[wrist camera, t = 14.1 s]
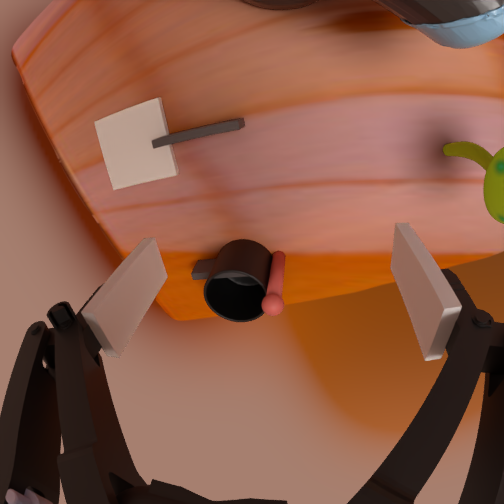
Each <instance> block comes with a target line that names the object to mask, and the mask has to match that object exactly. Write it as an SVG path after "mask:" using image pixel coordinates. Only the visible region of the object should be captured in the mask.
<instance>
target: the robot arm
mask: <svg viewBox="0 0 504 504" xmlns="http://www.w3.org/2000/svg"><path fill="white" fill-rule="evenodd" d="M243 1H245V2H247V3H250V4H252V5H255V6H258V7H262V8H267V9H277V10H285V9H295V8H300V7H304V6H307V5H310V4H312V3H315V2H317V1H318V0H243ZM373 1H374V2H376V3H378V4H379V5H381V6H383V7H384V8H386V9H387V10H389V11H391V12H392V13H394V14H395V15H397V16H398V17H400V20H401V21H403V22H404V23H405V24H407V25H409V26H411V27H415V28H416V29H418V30H419V31H420V32H422V33H423V34H425V35H426V36H427V37H429V38H430V39H432V40H433V41H434V42H436V43H438V44H440V45H442V46H447V47H451V48H455V49H462V48H470V47H475V46H479V45H481V44H484V43H487V42H489V41H491V40H493V39H495V38H497V37H499V36H500V35H502V34H503V33H504V0H373ZM391 271H392V273H393V275H394V278H395V280H396V283H397V285H398V287H399V290H400V292H401V295H402V298H403V300H404V303H405V305H406V308H407V310H408V313H409V316H410V319H411V321H412V324H413V327H414V330H415V333H416V336H417V338H418V341H419V344H420V347H421V351H422V354H423V357H424V360H425V361H428V360H433V359H440V358H441V357H442V355H443V353H444V351H445V348H446V351H447V353H448V358H447V360H446V362H445V364H444V366H443V368H442V370H441V372H440V374H439V376H438V378H437V380H436V382H435V384H434V385H433V387H432V389H431V391H430V393H429V394H428V396H427V398H426V400H425V401H424V403H423V405H422V406H421V408H420V410H419V411H418V413H417V415H416V416H415V418H414V419H413V421H412V422H411V424H410V425H409V427H408V428H407V430H406V431H405V433H404V434H403V436H402V437H401V439H400V440H399V442H398V443H397V444H396V446H395V447H394V448H393V450H392V451H391V452H390V454H389V455H388V456H387V458H386V459H385V460H384V462H383V463H382V464H381V466H380V467H379V468H378V469H377V470H376V472H375V473H374V474H373V475H372V477H371V478H370V479H369V480H368V481H367V483H366V484H365V485H364V486H363V487H362V488H361V489H360V490H359V491H358V493H356V495H355V496H354V497H353V498H352V499H351V500H350V501H349V502H348V503H347V504H414V500H415V498H416V496H417V494H418V493H419V492H420V490H421V489H422V487H423V486H424V485H425V483H426V482H427V480H428V479H429V477H430V476H431V474H432V472H433V471H434V469H435V468H436V466H437V464H438V463H439V461H440V459H441V457H442V456H443V454H444V452H445V450H446V449H447V447H448V445H449V443H450V441H451V439H452V438H453V436H454V434H455V432H456V430H457V427H458V426H459V423H460V421H461V419H462V417H463V415H464V413H465V411H466V408H467V406H468V404H469V401H470V399H471V396H472V394H473V392H474V389H475V387H476V384H477V381H478V378H479V376H480V373H481V372H484V373H485V385H484V395H483V403H482V410H481V417H480V423H479V429H478V434H477V439H476V444H475V448H474V453H473V457H472V461H471V465H470V468H469V472H468V475H467V479H466V482H465V485H464V488H463V492H462V494H461V497H460V500H459V503H458V504H504V323H498V322H494V320H493V318H492V316H491V315H490V314H489V313H487V312H485V311H484V310H480V309H477V308H476V306H475V304H474V303H473V301H472V299H471V298H470V296H469V294H468V293H467V291H466V290H465V288H464V286H463V285H462V284H461V282H460V280H459V279H458V277H457V276H456V274H454V273H453V272H452V271H450V270H449V269H440V268H439V267H438V265H437V264H436V262H435V260H434V259H433V257H432V256H431V254H430V253H429V251H428V250H427V248H426V247H425V245H424V244H423V243H422V241H421V240H420V238H419V237H418V235H417V234H416V233H415V231H414V230H413V228H412V227H411V226H410V224H409V223H395V231H394V242H393V251H392V260H391ZM167 278H168V276H167V273H166V270H165V267H164V264H163V261H162V258H161V255H160V252H159V249H158V246H157V243H156V239H155V237H154V238H144V239H143V240H142V241H141V242H140V243H139V244H138V245H137V246H136V248H135V249H134V250H133V251H132V252H131V253H130V254H129V255H128V256H127V258H126V259H125V260H124V261H123V262H122V263H121V264H120V266H119V267H118V268H117V269H116V270H115V272H114V273H113V274H112V275H111V276H110V277H109V279H108V280H107V281H106V282H105V283H104V284H103V285H101V286H100V287H98V289H97V290H96V291H95V292H94V293H93V295H92V296H91V297H90V298H89V300H88V301H87V302H86V303H85V304H84V306H83V307H82V308H81V309H80V311H79V312H78V313H77V314H76V315H75V313H74V311H73V309H72V308H71V306H70V304H69V303H68V302H65V301H64V302H60V303H57V304H56V305H54V306H53V307H52V308H51V309H50V310H49V311H48V313H47V317H48V318H49V320H50V322H51V323H52V325H53V327H54V328H49V329H48V328H47V326H46V324H45V322H43V321H38V322H35V323H34V324H32V325H31V326H30V327H29V328H28V330H27V332H26V334H25V337H24V340H23V342H22V345H21V348H20V351H19V353H18V356H17V359H16V362H15V365H14V368H13V371H12V374H11V378H10V381H9V384H8V388H7V391H6V395H5V399H4V403H3V407H2V411H1V415H0V504H58V503H59V495H60V479H61V483H62V487H63V492H64V495H65V499H66V503H67V504H287V501H282V500H264V499H252V498H250V499H239V500H228V501H211V500H209V499H206V498H204V497H202V496H200V495H198V494H195V493H193V492H191V491H189V490H187V489H185V488H183V487H180V486H176V485H172V484H168V483H164V482H161V481H157V480H154V479H152V482H151V485H147V484H146V483H145V481H144V480H143V479H142V477H141V476H140V475H139V474H138V472H137V470H136V468H135V466H134V463H133V461H132V458H131V455H130V453H129V450H128V447H127V445H126V442H125V439H124V436H123V433H122V430H121V427H120V424H119V421H118V418H117V415H116V411H115V408H114V405H113V402H112V398H111V394H110V390H109V387H108V383H107V379H106V374H105V370H104V366H103V362H102V357H101V356H100V354H99V351H100V349H101V348H102V349H103V350H104V352H105V353H106V355H107V356H111V357H116V358H120V356H121V354H122V352H123V351H124V349H125V347H126V345H127V344H128V342H129V340H130V338H131V337H132V335H133V333H134V332H135V330H136V328H137V327H138V325H139V323H140V321H141V320H142V318H143V317H144V315H145V313H146V312H147V310H148V308H149V306H150V305H151V303H152V302H153V300H154V298H155V297H156V295H157V294H158V292H159V290H160V289H161V287H162V286H163V284H164V282H165V281H166V279H167ZM43 360H44V362H45V363H46V364H47V365H46V368H44V367H43V363H42V361H43ZM61 434H62V439H63V445H64V453H63V454H60V448H61V447H60V446H61Z"/></svg>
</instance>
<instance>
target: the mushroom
mask: <svg viewBox="0 0 504 504" xmlns="http://www.w3.org/2000/svg"><path fill="white" fill-rule="evenodd" d="M443 153H444V154H445V155H446V156H458V157H465V158H468V159H471V160H473V161H475V162H477V163H478V164H479V165H481V166H482V167H483V168H484V169H485V170H486V175H485V179H484V200H485V204H486V207H487V210H488V212H489V213H490V215H491V216H492V217H493V218H494V219H495V220H497V221H498V222H500V223H503V224H504V147H503V148H502V149H500V150H499V151H498V152H497V153H496V154H495V155H494V157H493V156H492V155H491V154H490V153H489V152H488V151H486V150H485V149H484V148H482V147H481V146H479V145H477V144H474V143H471V142H454V143H449V144H446V145H444V147H443Z"/></svg>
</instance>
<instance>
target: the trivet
mask: <svg viewBox="0 0 504 504" xmlns="http://www.w3.org/2000/svg"><path fill="white" fill-rule="evenodd" d="M94 123H95V127H96V131H97V135H98V139H99V143H100V146H101V150H102V153H103V157H104V160H105V164H106V167H107V171H108V174H109V177H110V180H111V184H112V187H113V190H117V189H120V188H124V187H128V186H132V185H137V184H141V183H145V182H149V181H154V180H158V179H163V178H167V177H172V176H177V175H178V174H179V170H178V166H177V162H176V158H175V154H174V150H173V146H172V144H170V145H166V146H162V147H158V148H155V149H153V145H152V142H151V140H154V139H156V138H159V137H162V136H166V135H169V130H168V126H167V122H166V118H165V113H164V109H163V105H162V100H161V97H158V98H155V99H152V100H149V101H146V102H143V103H141V104H138V105H135V106H132V107H130V108H127V109H124V110H122V111H119V112H117V113H114V114H112V115H109V116H107V117H105V118H102V119H100V120H98V121H95V122H94Z"/></svg>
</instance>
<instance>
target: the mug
mask: <svg viewBox="0 0 504 504" xmlns="http://www.w3.org/2000/svg"><path fill="white" fill-rule="evenodd" d="M271 263H272V255H271V254H270V252H269V251H268V250H267V249H266V248H265V247H264V246H263V245H261V244H259V243H257V242H255V241H251V240H245V239H242V240H235V241H232V242H230V243H228V244H227V245H225V246H224V247H223V248H222V249H221V251H220V253H219V255H218V257H217V259H216V261H215V263H214V266H213V268H212V270H211V272H210V274H209V277H208V279H207V281H206V283H205V286H204V298H205V301H206V303H207V305H208V306H209V307H210V309H211V310H212V311H213V312H215V313H216V314H217V315H219V316H220V317H222V318H224V319H227V320H230V321H234V322H248V321H252V320H255V319H257V318H259V317H260V316H262V315H263V314H264V313H265V312H264V311H263V309H262V300H263V299H264V297H265V296H266V294H267V288H268V282H269V276H270V270H271ZM223 273H240V274H244V275H247V276H246V277H231V278H214V277H216V276H218V275H220V274H223Z"/></svg>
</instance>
